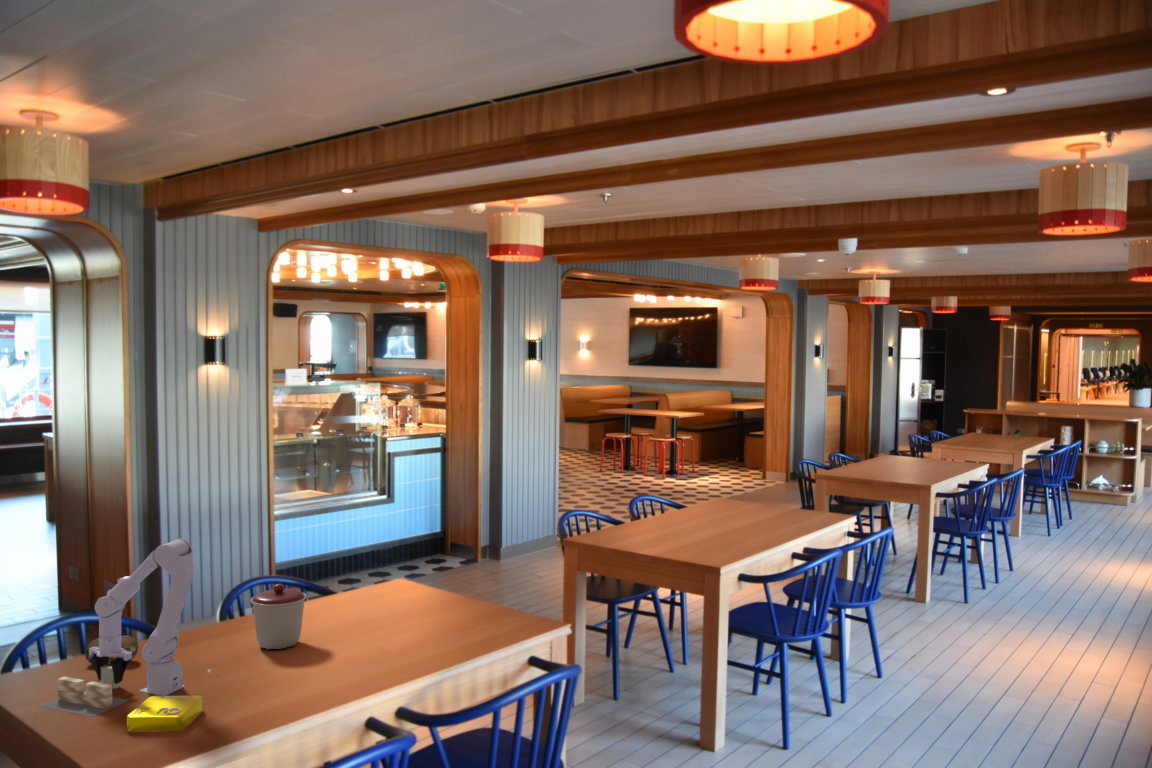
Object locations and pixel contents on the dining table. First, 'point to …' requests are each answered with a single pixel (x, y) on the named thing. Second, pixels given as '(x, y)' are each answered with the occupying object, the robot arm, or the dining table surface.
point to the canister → (278, 616)
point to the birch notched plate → (85, 692)
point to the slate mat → (81, 707)
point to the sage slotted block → (108, 676)
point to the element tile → (164, 713)
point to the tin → (126, 644)
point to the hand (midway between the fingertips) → (110, 681)
